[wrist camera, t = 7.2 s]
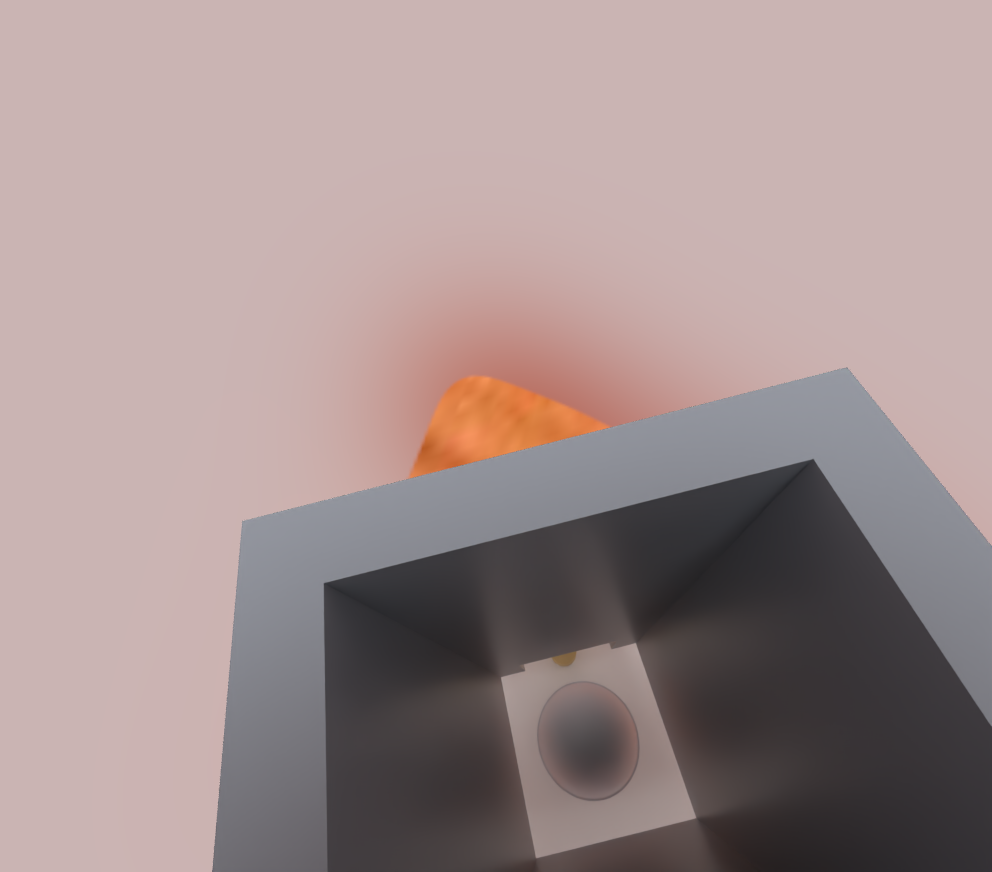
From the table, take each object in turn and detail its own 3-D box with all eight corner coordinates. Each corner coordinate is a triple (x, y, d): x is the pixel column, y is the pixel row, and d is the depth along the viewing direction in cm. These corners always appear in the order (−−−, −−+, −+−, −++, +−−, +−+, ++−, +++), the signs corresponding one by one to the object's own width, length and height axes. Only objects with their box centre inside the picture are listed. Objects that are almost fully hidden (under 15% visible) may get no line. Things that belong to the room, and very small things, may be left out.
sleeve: (740, 849, 12) (2134, 1957, 1) (513, 906, 12) (76, 2451, 1) (650, 611, 15) (846, 368, 4) (471, 656, 15) (241, 521, 4)
